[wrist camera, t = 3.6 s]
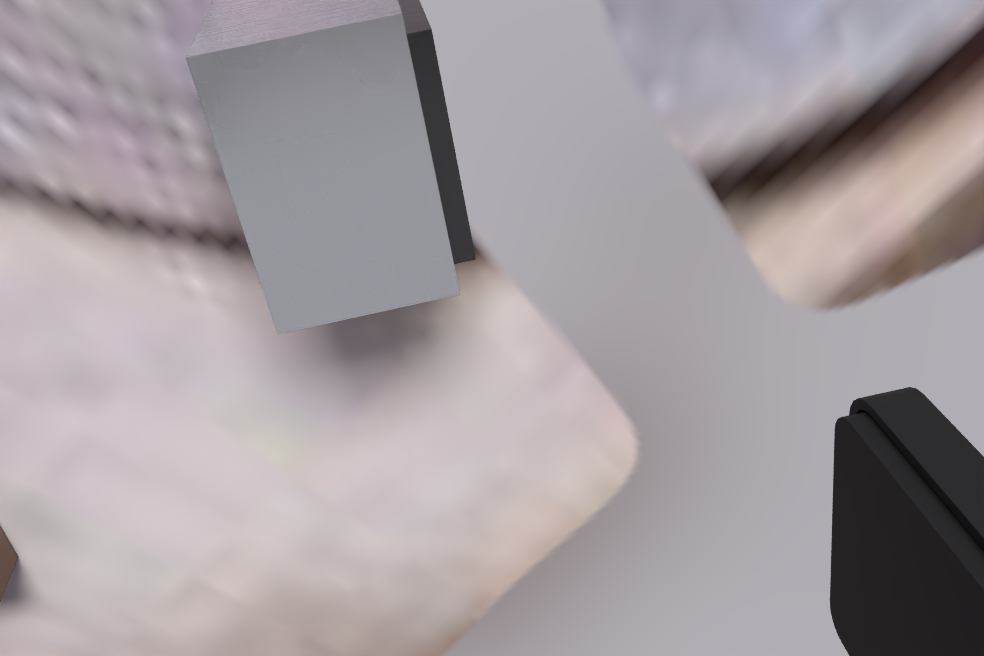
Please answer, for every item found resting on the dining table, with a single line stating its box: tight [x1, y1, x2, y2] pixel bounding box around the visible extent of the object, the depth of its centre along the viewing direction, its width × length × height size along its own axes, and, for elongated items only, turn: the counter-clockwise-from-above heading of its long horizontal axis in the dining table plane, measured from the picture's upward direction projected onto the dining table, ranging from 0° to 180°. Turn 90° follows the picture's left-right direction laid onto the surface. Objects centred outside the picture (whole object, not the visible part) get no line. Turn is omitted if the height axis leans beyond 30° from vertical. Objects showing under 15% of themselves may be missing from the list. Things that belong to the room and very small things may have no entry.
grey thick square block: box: [186, 0, 476, 334], centre depth 21 cm, size 4×6×6 cm
